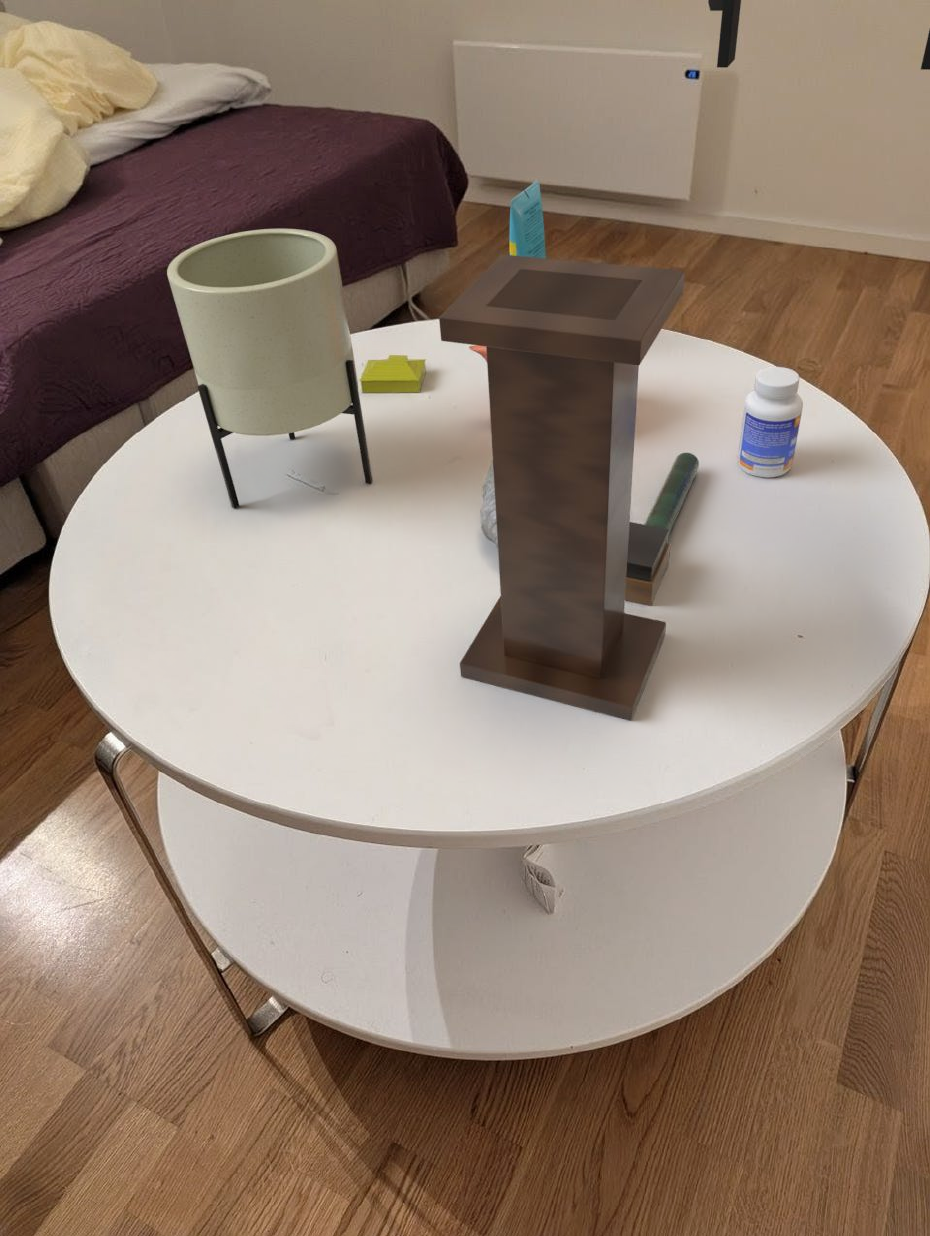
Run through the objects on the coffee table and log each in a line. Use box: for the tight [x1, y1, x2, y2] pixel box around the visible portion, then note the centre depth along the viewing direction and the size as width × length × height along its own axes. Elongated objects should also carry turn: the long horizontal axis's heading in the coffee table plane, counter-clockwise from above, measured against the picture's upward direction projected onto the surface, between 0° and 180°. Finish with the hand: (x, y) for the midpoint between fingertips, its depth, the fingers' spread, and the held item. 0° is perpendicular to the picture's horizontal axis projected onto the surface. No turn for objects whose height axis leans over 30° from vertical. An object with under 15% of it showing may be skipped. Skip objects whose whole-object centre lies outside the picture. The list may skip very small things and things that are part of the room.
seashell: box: [480, 460, 498, 549], centre depth 86 cm, size 6×14×8 cm, turn 177°
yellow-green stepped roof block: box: [359, 354, 431, 399], centre depth 112 cm, size 10×9×3 cm
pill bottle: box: [737, 366, 804, 478], centre depth 90 cm, size 5×5×10 cm
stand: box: [438, 254, 686, 721], centre depth 65 cm, size 14×10×30 cm
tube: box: [508, 180, 547, 259], centre depth 110 cm, size 7×5×19 cm, turn 158°
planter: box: [166, 228, 374, 509], centre depth 90 cm, size 15×16×23 cm
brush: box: [625, 452, 700, 606], centre depth 85 cm, size 21×4×4 cm, turn 156°
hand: (823, 65), depth 65 cm, fingers open, 13 cm apart
